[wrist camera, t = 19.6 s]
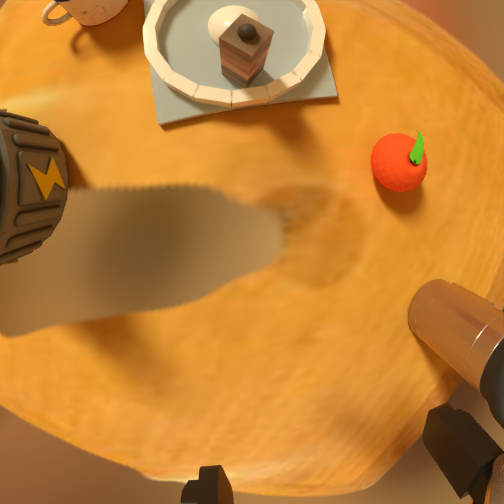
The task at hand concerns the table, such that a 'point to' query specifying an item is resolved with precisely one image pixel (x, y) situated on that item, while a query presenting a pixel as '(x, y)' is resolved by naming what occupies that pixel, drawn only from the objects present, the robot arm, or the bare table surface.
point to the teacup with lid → (84, 11)
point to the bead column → (244, 50)
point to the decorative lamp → (29, 185)
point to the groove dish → (209, 62)
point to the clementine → (399, 161)
